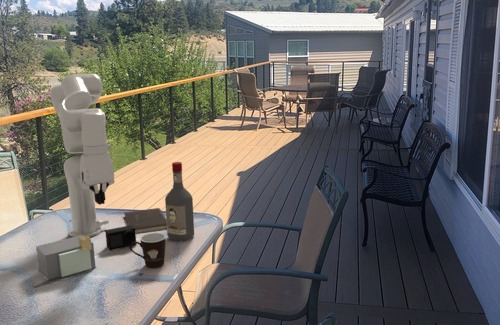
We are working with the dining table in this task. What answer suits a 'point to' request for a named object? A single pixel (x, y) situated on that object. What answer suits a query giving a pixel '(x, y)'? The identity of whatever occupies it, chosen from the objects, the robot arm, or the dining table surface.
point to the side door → (76, 258)
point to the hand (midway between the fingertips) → (100, 203)
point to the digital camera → (120, 237)
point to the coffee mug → (152, 249)
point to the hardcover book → (146, 220)
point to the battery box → (50, 259)
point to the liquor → (179, 208)
